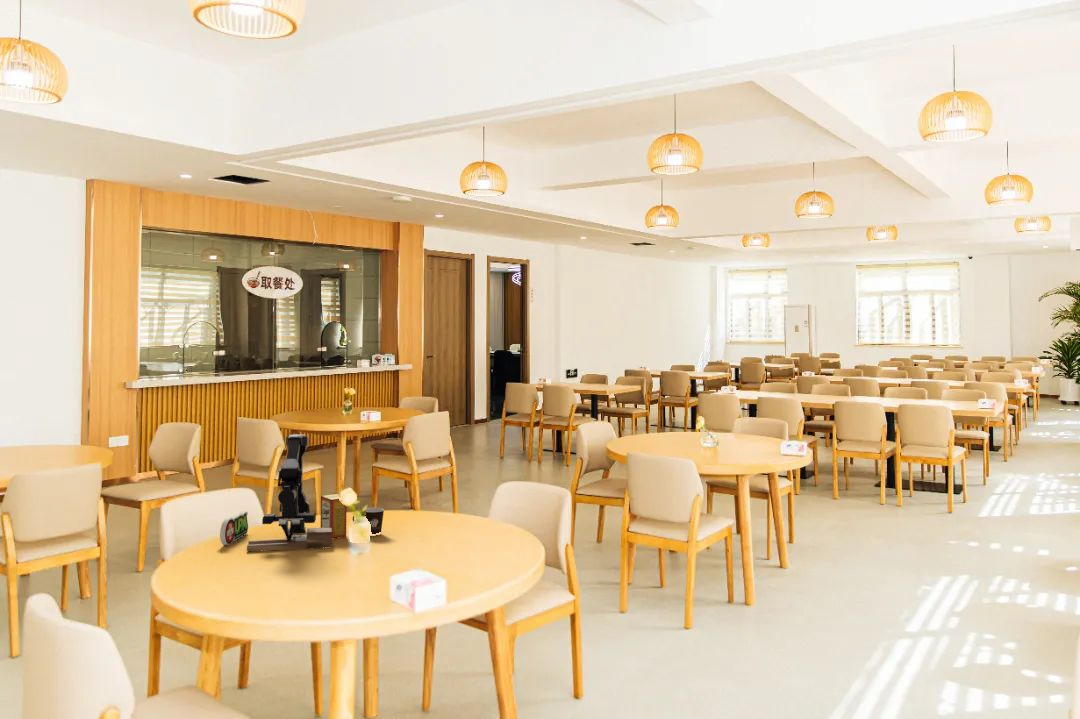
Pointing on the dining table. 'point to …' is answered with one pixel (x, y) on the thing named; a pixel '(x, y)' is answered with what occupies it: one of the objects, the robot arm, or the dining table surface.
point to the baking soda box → (333, 515)
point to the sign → (233, 528)
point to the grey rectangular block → (299, 538)
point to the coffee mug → (374, 519)
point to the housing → (314, 540)
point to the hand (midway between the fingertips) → (289, 541)
